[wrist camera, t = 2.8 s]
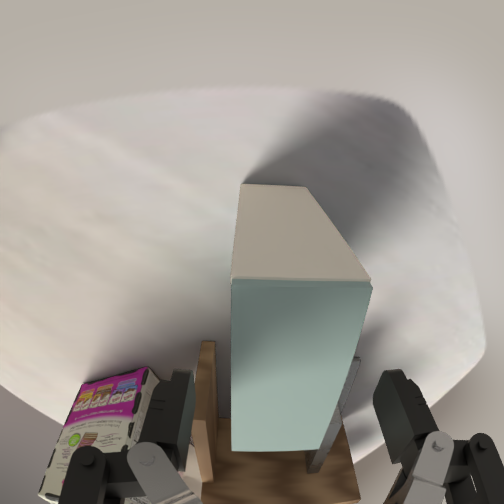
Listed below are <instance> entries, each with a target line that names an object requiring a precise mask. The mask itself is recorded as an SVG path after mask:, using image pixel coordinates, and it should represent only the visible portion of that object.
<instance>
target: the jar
mask: <svg viewBox="0 0 504 504" xmlns="http://www.w3.org/2000/svg"><path fill="white" fill-rule="evenodd" d="M178 473H179V475H180V476H181V478H182V479H183V481H184V482H185V483H186V485H187V486H188V487H189V489H190V490H191V491H192V492H194V493H195V494H196V495H197V497H198V498H199V499H200V500H201V490H202V479H201V475H200V471H199V466H198V462H197V457H196V453H195V448H194V446H192V445H191V444H190V443H189V449H188V456H187V462H186V469H185V472H182V471H178Z"/></svg>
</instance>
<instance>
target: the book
mask: <svg viewBox="0 0 504 504" xmlns="http://www.w3.org/2000/svg"><path fill="white" fill-rule="evenodd" d="M370 281H371V278H370V277H369V275H368V274H367V272H366V271H365V269H364V268H363V266H362V265H361V263H360V262H359V260H358V259H357V257H356V256H355V254H354V253H353V252H352V250H351V249H350V247H349V246H348V244H347V243H346V241H345V240H344V239H343V237H342V236H341V234H340V233H339V231H338V230H337V229H336V227H335V226H334V224H333V223H332V222H331V220H330V219H329V218H328V216H327V215H326V213H325V212H324V211H323V209H322V208H321V207H320V205H319V204H318V203H317V201H316V200H315V199H314V197H313V196H312V195H311V193H310V192H309V191H308V189H307V188H306V187H298V186H281V185H259V184H241V185H240V194H239V202H238V211H237V220H236V229H235V238H234V247H233V256H232V265H231V275H230V284H231V441H232V451H256V452H263V451H298V450H314V449H319V447H320V445H321V443H322V440H323V438H324V435H325V433H326V431H327V428H328V426H329V423H330V421H331V418H332V416H333V413H334V410H335V408H336V405H337V402H338V400H339V397H340V394H341V391H342V389H343V386H344V383H345V380H346V377H347V374H348V371H349V368H350V365H351V362H352V359H353V356H354V353H355V350H356V347H357V343H358V340H359V337H360V333H361V330H362V326H363V323H364V319H365V316H366V312H367V309H368V305H369V301H370V297H371V293H372V289H373V287H372V286H371V284H370Z"/></svg>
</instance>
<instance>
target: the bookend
mask: <svg viewBox="0 0 504 504" xmlns="http://www.w3.org/2000/svg"><path fill="white" fill-rule="evenodd" d="M360 362H361V360H360V358H359V357H353V359H352V362H351V365H350V368H349V371H348V374H347V377H346V380H345V383H344V386H343V389H342V391H341V394H340V397H339V400H338V402H337V405H336V408H335V410H334V413H333V416H332V418H331V421H330V423H329V426H328V428H327V431H326V433H325V435H324V438H323V440H322V443H321V445H320V447H319V449H314V450H304V454H305V461H306V469H307V474H309V473H318V472H319V471H320V469H321V467H322V465H323V463H324V461H325V459H326V457H327V455H328V453H329V451H330V449H331V447H332V445H333V442H334V440H335V438H336V436H337V434H338V432H339V430H340V427H341V425H342V420H341V416H340V415H341V412H342V410H343V407H344V405H345V402H346V400H347V397H348V395H349V392H350V389H351V387H352V384H353V381H354V379H355V376H356V373H357V370H358V368H359V365H360Z"/></svg>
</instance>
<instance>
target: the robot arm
mask: <svg viewBox="0 0 504 504" xmlns="http://www.w3.org/2000/svg"><path fill="white" fill-rule="evenodd" d="M195 404H196V392H195V384H194V376H193V371H192V370H181V369H174V371H173V374H172V378H171V381H166V380H161V381H160V382H159V383H158V384H157V385H156V386H155V388H154V389H153V392H152V395H151V400H150V402H149V406H148V409H147V412H146V416H145V419H144V423H143V426H142V430H141V433H140V437H139V440H138V441H137V443H136V444H135V445H134V446H133V447H132V448H130V449H128V450H126V451H121V452H109V453H103V452H102V451H101V450H100V449H98V448H96V447H94V446H82V447H80V448H78V449H76V450H75V451H74V452H73V454H72V456H71V459H70V462H69V466H68V469H67V472H66V476H65V479H64V483H63V486H62V490H61V493H60V497H59V501H58V504H124V502H125V498H131V497H143V496H147V497H148V499H149V500H150V502H151V504H203V503H202V501H201V500H200V499H199V498H198V497H197V495H196V494H195V493H194V492H192V491H191V490H190V489H189V487H188V486H187V485H186V483H185V482H184V481H183V479H182V478H181V476H180V475H179V473H178V471H182V472H185V469H186V462H187V456H188V449H189V443H190V436H191V430H192V424H193V418H194V411H195ZM373 405H374V409H375V412H376V415H377V418H378V421H379V424H380V427H381V430H382V433H383V436H384V439H385V443H386V446H387V449H388V452H389V455H390V459H391V462H392V464H396V463H400V462H401V464H402V468H401V469H400V471H399V473H398V476H397V478H396V480H395V482H394V484H393V486H392V488H391V490H390V493H389V494H388V496H387V498H386V500H385V502H384V503H383V504H442V501H443V499H444V496H445V498H446V502H447V504H504V466H503V464H502V461H501V459H500V456H499V454H498V451H497V449H496V447H495V444H494V442H493V440H492V439H491V438H490V437H489V436H488V435H486V434H484V433H477V434H475V435H474V436H473V437H472V438H471V439H470V440H452V438H451V437H450V436H449V435H448V434H446V433H445V432H442V431H439V429H438V427H437V425H436V423H435V421H434V419H433V416H432V414H431V412H430V410H429V407H428V405H426V401H425V399H424V398H423V395H422V393H421V391H420V388H419V387H418V386H417V385H416V384H415V383H414V382H413V381H412V380H411V379H409V380H407V379H406V377H405V375H404V372H403V371H402V370H401V369H395V370H385V371H384V372H383V373H382V376H381V378H380V380H379V383H378V385H377V387H376V389H375V392H374V394H373ZM471 476H472V478H473V481H474V484H473V481H472V479H471ZM474 485H475V487H476V491H475V487H474Z"/></svg>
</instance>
